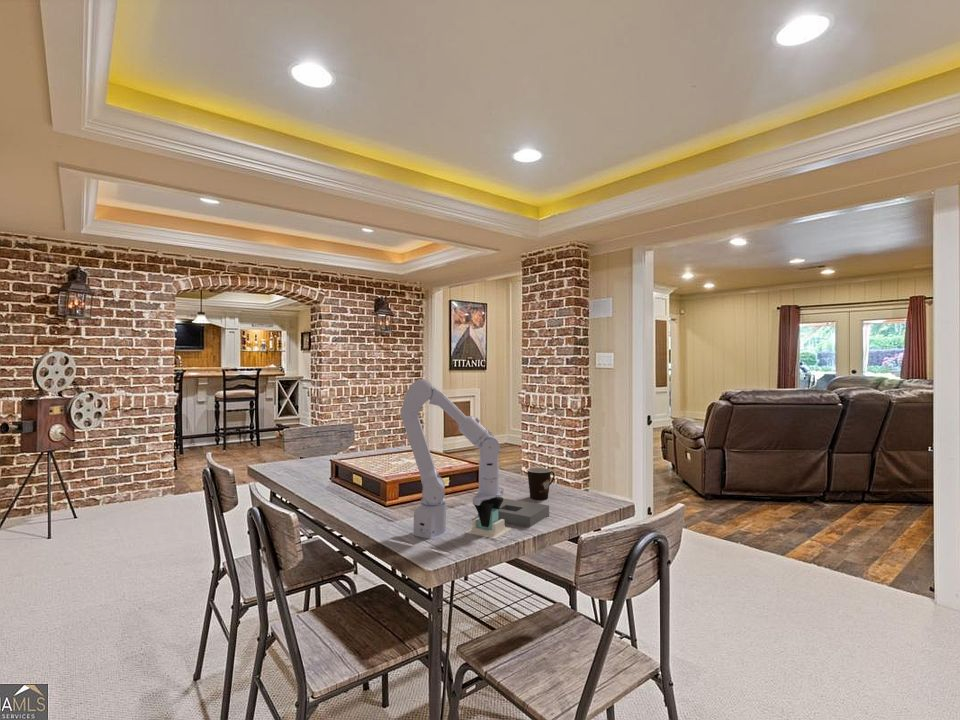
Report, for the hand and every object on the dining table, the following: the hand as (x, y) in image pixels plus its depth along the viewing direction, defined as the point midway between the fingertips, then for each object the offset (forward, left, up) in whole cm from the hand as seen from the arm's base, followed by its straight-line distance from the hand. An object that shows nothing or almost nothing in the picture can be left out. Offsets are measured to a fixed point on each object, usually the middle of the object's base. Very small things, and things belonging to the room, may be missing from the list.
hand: (488, 524), depth 150 cm
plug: (0, 0, -2) cm, 2 cm away
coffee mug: (+43, +2, -2) cm, 43 cm away
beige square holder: (0, 0, -2) cm, 2 cm away
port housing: (+16, 0, -2) cm, 16 cm away
